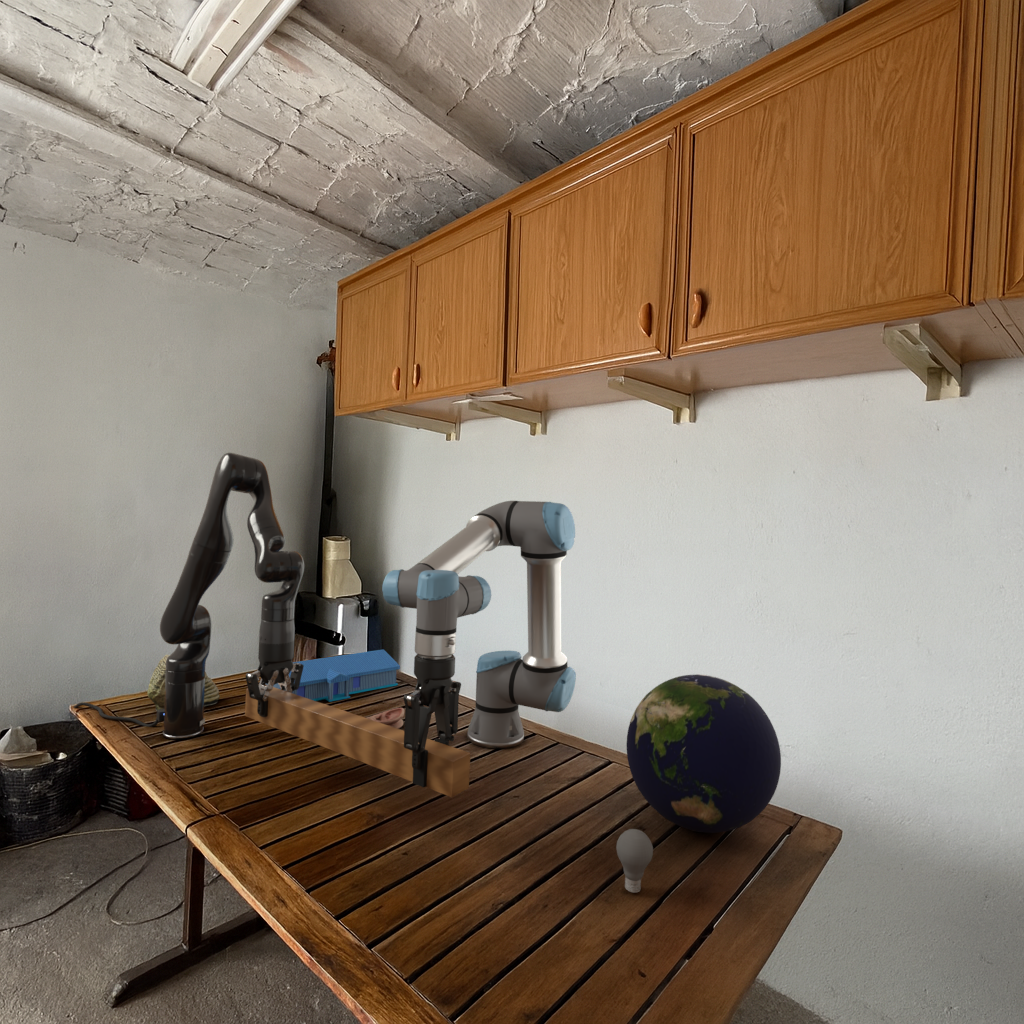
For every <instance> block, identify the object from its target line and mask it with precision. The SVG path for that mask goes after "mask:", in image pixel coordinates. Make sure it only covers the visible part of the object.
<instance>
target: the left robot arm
mask: <svg viewBox="0 0 1024 1024" xmlns="http://www.w3.org/2000/svg"><path fill="white" fill-rule="evenodd" d="M232 491H233V492H237V493H243V494H248V495H250V497H251V498H252V500H253V505H252V507H251V509H250V511H249V513H248V515H247V520H246V526H247V531H248V533H249V536H250V539H251V542H252V544H253V549H254V567H253V569H254V574H255V577H256V578H257V579H258V580H259V581H260V582H262V583H265V584H272V583H281V585H280V587H279V588H278V589H276V590H274V591H270V592H267V593H266V594H263V596H262V598H261V608H260V609H261V611H260V612H261V613H260V624H259V633H258V662H259V664H258V667H257V669H256V671H254V672H246V673H245V682H246V685H247V688H248V691H249V696H250V698H253V699H256V700H258V708H257V709H258V710H257V712H258V714H259V715H260V716H261V717H267V715H268V700H267V699H268V696H269V693H270V691H271V690H272V689H273V686H274V685H275V684H277V683H278V684H279V685H280V688H281V690H284V691H287V692H290V693H292V692H293V691H294V690H298V688H299V684H300V680H301V676H302V672H303V667H304V665H303V664H300V663H293V662H294V661H293V659H294V655H295V654H294V653H295V633H296V632H295V630H296V627H295V601H296V597H297V594H298V591H299V588H300V585H301V581H302V579H303V575H304V572H305V561H304V558H303V556H302V555H301V554H300V553H299V552H298V551H295V550H282V549H284V547H285V545H286V537H285V534H284V531H283V528H282V526H281V524H280V521H279V519H278V517H277V514H276V513H277V512H276V511H275V510H276V509H275V505H274V500H273V495H272V488H271V484H270V478H269V473H268V469H267V467H266V465H265V463H264V462H263V461H261V460H260V459H257V458H254V457H251V456H247V455H243V454H239V453H235V452H226V453H224V454H223V455H222V456H221V457H220V459H219V461H218V462H217V465H216V467H215V469H214V473H213V477H212V481H211V485H210V488H209V493H208V497H207V501H206V504H205V507H204V510H203V513H202V517H201V519H200V522H199V524H198V528H197V529H196V532H195V535H194V537H193V539H192V542H191V546H190V548H189V551H188V555H187V557H186V561H185V563H184V566H183V569H182V570H181V574H180V576H179V579H178V582H177V584H176V586H175V589H174V591H173V593H172V595H171V597H170V599H169V601H168V603H167V605H166V607H165V609H164V611H163V614H162V616H161V619H160V623H159V633H160V637H161V638H162V641H164V642H165V643H166V644H168V645H173V646H174V645H177V646H176V647H175V649H174V650H173V652H172V653H170V654H169V655H170V656H169V657H168V658H167V660H166V674H165V705H164V709H159V710H156V717H155V721H154V722H152V723H145V722H143V721H141V720H139V719H137V718H133V717H125V716H116V715H115V716H113V715H110V714H109V715H108V714H105V713H104V711H103V709H102V708H101V707H99V706H97V705H94V704H92V703H90V702H85V701H83V702H82V701H81V702H78V703H76V704H75V705H74V706H73V709H78V708H79V707H82V706H83V707H87V708H90V709H92V710H96V711H97V712H98V713H99V716H100V717H101V718H103V719H107V720H113V721H126V722H132V723H135V724H137V725H139V726H143V727H149V728H153V727H155V726H157V725H158V724H159V723H160V722H163V731H162V737H164V738H166V739H169V740H185V739H190V738H191V739H192V738H194V737H197V736H199V735H202V734H203V732H204V730H205V729H204V724H205V723H206V717H205V706H204V693H205V672H206V664H207V663H206V662H207V659H208V657H209V654H210V649H211V639H212V617H211V614H210V612H209V610H208V609H207V608H206V607H205V606H203V605H201V604H200V602H201V599H202V598H203V596H204V595H205V593H206V591H208V589H209V588H210V587H211V586H212V585H213V583H215V581H216V579H218V577H220V575H221V574H222V572H223V571H224V569H225V567H226V565H227V564H228V561H229V558H230V555H231V552H232V550H233V547H234V541H235V540H234V539H235V538H234V534H233V530H232V526H231V523H230V520H229V516H228V502H229V498H230V494H231V492H232ZM290 671H291V675H290V677H289V673H290ZM294 681H295V682H294ZM266 684H268V685H267V686H266Z"/></svg>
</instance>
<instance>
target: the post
mask: <svg viewBox="0 0 1024 1024" xmlns="http://www.w3.org/2000/svg"><path fill="white" fill-rule="evenodd" d="M266 686H267V685H266ZM267 700H268V715H267V717H261V716H260V715H259V714H258V712H257V710H258V709H257V708H258V700H256V699H253V698H250V696H249V691H248V687H247V688H246V687H245V703H244V704H245V707H244V709H245V710H244V716H245V718H246V717H247V718H249V719H251V720H254V721H256V722H259V723H262V724H264V725H266V726H268V727H272V728H274V729H277V730H279V731H282V732H284V733H287V734H290V735H292V736H295V737H296V738H300V739H301V740H302V739H303V740H305V741H307V742H310V743H313V744H315V745H318V746H320V747H322V748H325V749H327V750H331V751H332V752H336V753H337V754H340V755H343V756H345V757H348V758H350V759H353V760H356V761H358V762H361V763H363V764H366V765H369V766H370V767H373V768H375V769H379V770H381V771H383V772H386V773H387V774H388V773H389V774H391V775H394V776H396V777H399V778H401V779H404V780H406V781H408V782H411V783H413V768H412V750H409V749H406V748H404V730H403V729H400V728H398V729H397V728H394V727H391V726H388V725H385V724H382V723H379V722H376V721H373V720H370V719H367V717H364V716H362V715H359V714H355V713H352V712H349V711H346V710H344V709H341V708H337V707H334V706H331V705H329V704H325V703H323V702H320V701H314V700H311V699H308V698H305V697H302V696H299V695H296V694H293V693H290V692H287V691H284V690H281V689H278V688H275V687H273V689H272V690H271V691H270V693H269V696H268V699H267ZM418 744H419V742H418ZM425 750H428V762H427V785H426V787H425V788H426V789H429V790H431V791H435V792H437V793H440V794H442V795H444V796H447V797H450V798H454V797H456V796H458V795H459V794H460V793H463V792H464V791H466V790H468V789H469V788H470V775H471V773H470V772H471V752H469V751H466V750H463V749H460V748H457V747H454V746H451V745H449V746H448V745H445V744H442V743H439V742H436V741H434V740H433V739H430V738H427V740H426V745H425Z"/></svg>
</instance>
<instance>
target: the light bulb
mask: <svg viewBox="0 0 1024 1024" xmlns="http://www.w3.org/2000/svg"><path fill="white" fill-rule="evenodd" d="M615 849H616V854H617V857H618V859H619V861H620V863H621V865H622V867H623V873H624V874H623V875H624V876H625V878H624V888H625V890H627V891H628V892H630V893H634V894H635V893H639V892H640V891H641V889H642V887H641V886H642V879H643V877H644V875H645V871H646V868H647V867H648V866H649V864H650V863H651V861H652V859H653V855H654V847H653V843H652V841H651V838H649V836H648V835H647V834H646V833H645V832H643V831H642V830H641V829H636V828H629V829H627V830H625V831H623V832H622V833H621V834H620V835H619V837H618V839H617V841H616V847H615Z"/></svg>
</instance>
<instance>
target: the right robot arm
mask: <svg viewBox="0 0 1024 1024" xmlns="http://www.w3.org/2000/svg"><path fill="white" fill-rule="evenodd" d="M575 538H576V524H575V519H574V516H573V514H572V512H571V510H570V508H569V507H568V506H567V505H566V504H563V503H559V502H553V501H535V500H534V501H533V500H530V501H529V500H524V501H523V500H506V501H502V502H498V503H496V504H494V505H493V504H492V505H491V506H489V507H486V508H485V509H483V510H481V511H479V512H478V513H476V514H475V515H473V516H472V517H471V518H470V519H469V520H468V521H467V523H466V525H465V527H464V528H463V529H461V530H460V531H458V532H457V533H456V534H455V535H453V536H452V537H451V538H449V539H448V540H446V541H445V542H444V543H442V544H441V545H440V546H438V548H436V549H435V550H433V551H432V552H430V553H429V554H428V555H426V556H425V557H424V558H422V559H421V560H420V561H418V562H416V564H414V565H413V566H412V567H410V568H409V569H407V570H404V569H402V568H401V569H392V570H391V571H389V572H388V573H387V574H386V575H385V577H384V580H383V582H382V586H381V587H382V588H381V589H382V590H381V591H382V597H383V599H384V601H385V602H386V603H387V604H388V605H389V604H390V605H392V606H396V607H400V608H408V609H415V610H416V621H415V622H416V624H415V632H414V633H415V636H414V653H415V656H414V660H413V675H414V676H415V678H416V684H415V687H414V691H413V692H412V693H410V694H409V693H405V694H404V696H403V703H404V706H405V709H404V730H403V731H404V748H406V749H409V750H412V768H413V782H412V784H414V785H415V786H418V787H421V788H427V787H426V785H427V762H428V750H425V745H426V740H427V739H428V734H429V729H430V725H431V719H432V715H433V713H434V719H435V727H436V734H437V737H436V738H434V740H433V741H436V742H439V743H442V744H445V745H448V746H450V742H454V740H455V735H456V734H457V733H458V729H459V728H458V727H459V726H458V725H459V702H460V700H459V699H460V692H461V687H462V683H461V682H460V681H456V680H452V678H453V677H454V676H455V673H456V656H455V655H454V654H455V653H456V646H457V645H456V643H457V624H458V619H459V618H462V617H466V616H469V615H475V614H478V613H479V612H481V611H484V610H485V609H486V608H487V607H488V606H489V604H490V602H491V601H492V590H491V589H492V588H491V586H490V584H489V582H488V581H487V580H486V579H485V578H484V577H482V576H480V575H471V574H469V575H468V574H467V575H466V576H459V575H460V573H461V572H463V571H464V570H465V569H466V568H467V567H468V566H470V565H471V564H472V563H473V562H474V561H476V560H477V559H478V558H479V557H480V556H482V555H483V554H484V553H485V552H491V551H493V550H495V549H496V548H497V547H501V546H502V547H504V546H505V547H506V546H509V547H517V548H518V547H520V557H521V558H522V559H523V560H524V561H525V563H526V584H527V585H526V590H527V591H526V594H527V597H526V598H527V599H526V600H527V652H526V653H525V654H524V655H523V656H522V655H521V652H520V651H517V650H496V651H495V650H494V651H489V652H486V653H484V654H482V655H480V656H479V657H478V659H477V665H476V671H475V673H476V677H475V681H476V683H475V706H474V707H475V708H474V711H473V714H472V717H471V719H470V722H469V725H468V728H467V736H466V737H467V740H468V741H469V742H470V743H471V744H473V745H475V746H478V747H482V748H486V749H495V750H499V749H509V748H513V747H517V746H519V745H521V744H522V743H523V742H524V739H525V731H524V726H523V722H522V720H521V715H520V712H519V706H522V707H526V708H531V709H536V710H542V711H545V712H554V713H561V712H563V711H565V709H567V707H568V705H569V704H570V702H571V700H572V697H573V695H574V691H575V686H576V681H577V673H576V670H575V669H574V668H573V667H572V666H568V657H567V655H566V654H565V653H564V652H562V562H563V560H564V559H565V558H566V557H567V555H568V553H567V552H568V551H570V550H571V549H572V548H573V547H574V544H575ZM418 742H419V744H418Z"/></svg>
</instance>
